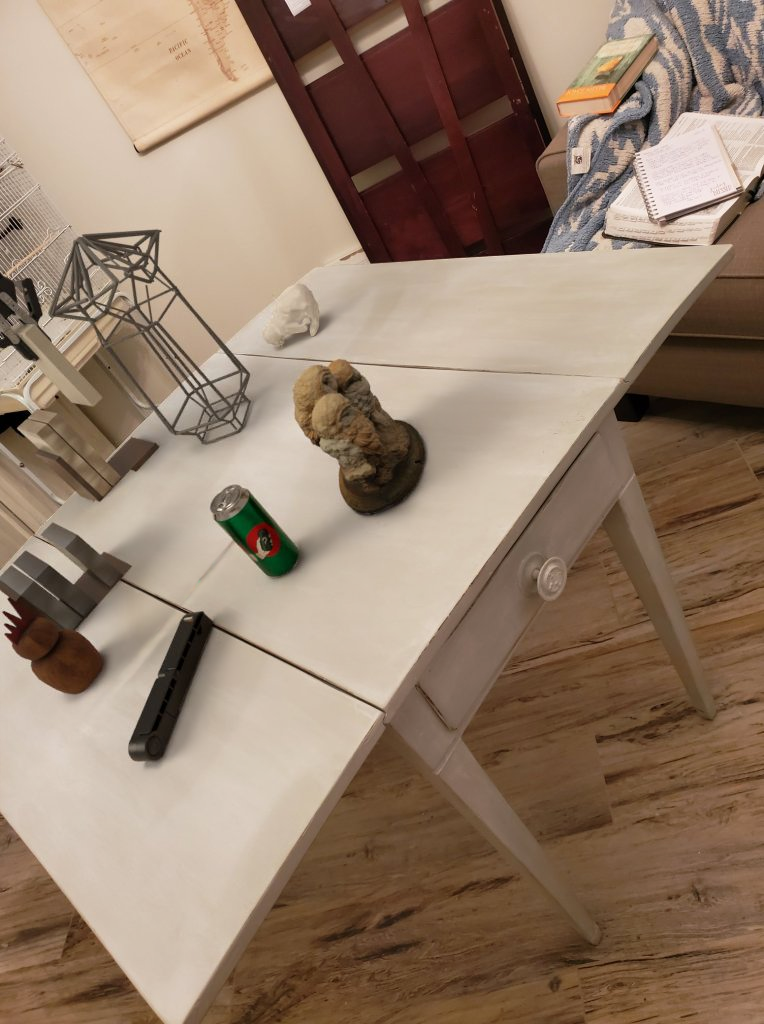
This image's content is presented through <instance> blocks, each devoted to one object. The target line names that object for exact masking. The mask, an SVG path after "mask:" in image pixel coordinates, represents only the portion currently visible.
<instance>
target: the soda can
mask: <svg viewBox="0 0 764 1024" xmlns="http://www.w3.org/2000/svg"><path fill="white" fill-rule="evenodd" d="M209 510H210V512H211V513H212V518H213V521H215V523H216V524H217V525H218V526H219V527H221V529H222V530H223V531H224V532H225V534H227V536H229V537H230V538H231V539H232V541H233V542H234V543H236V545H237V546H238V547H239V548H240V549H241V550H242V551H243V552H244V554H246V556H248V557H249V559H250V560H251V561H252V562H253V563H254V564H255V565H256V566H257V567H258V569H260V570H261V571H262V572H263V573H264V575H265V576H267V577H270V578H278V577H283V576H285V575H287V574H288V573H289V572H291V570H293V569H294V568H295V566H296V565H297V563H298V561H297V560H299V557H300V549H299V547H298V546H297V545H296V543H294V541H293V540H292V539H291V538H290V536H289V535H288V534H287V533H286V531H284V530H283V528H282V527H281V526H280V525H279V523H277V521H276V519H274V518H273V517H272V515H270V513H269V512H268V511H267V510H266V508H265V507H264V506H263V505H262V504H261V503H260V502H259V500H258V499H257V498H256V497H255V496H254V495H253V493H252V492H251V491H250V490H249V489H248V488H246V487H242V486H241V485H240V484H231V485H228V486H225V488H222V489H221V490H220V491H219V492H217V493H216V495H215V496H214V497H213V498H212V500H211V502H210V505H209ZM296 562H297V563H296ZM295 564H296V565H295ZM294 565H295V566H294ZM287 572H288V573H287ZM284 574H285V575H284ZM282 575H283V576H282Z"/></svg>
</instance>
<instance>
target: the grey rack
mask: <svg viewBox="0 0 764 1024" xmlns="http://www.w3.org/2000/svg"><path fill="white" fill-rule="evenodd" d="M40 536H41V537H42V538H43V539H44V540H45V541H46V542H48V543H49V544H50V545H51V546H53V547H54V548H55V549H56V550H57V551H59V552H60V553H61V554H62V555H63V556H64V557H66V558H67V559H68V560H70V561H71V562H72V563H73V564H74V565H75V566H76V567H78V568H79V569H80V570H82V572H83V574H81V575H80V577H78V579H77V580H76V581H75V582H74V583H73V582H71V581H70V580H68V578H66V577H65V576H64V575H63V574H62V573H60V572H59V571H58V570H57V569H56V568H54V567H53V566H51V565H50V564H49V563H47V562H45V560H43V559H41V558H39V557H37V556H36V555H34V554H33V553H31V552H30V551H28V550H26V549H25V550H24V551H23V552H22V553H21V554H20V555H19V556H18V557H17V558H16V559H15V560H14V561H13V562H12V565H10V566H8V568H7V569H5V571H4V572H3V573H2V574H1V575H0V592H2V593H3V594H4V595H5V596H6V597H7V598H11V599H13V600H14V601H15V602H17V603H18V604H19V605H21V606H22V607H23V608H25V609H26V610H27V611H29V612H30V613H31V614H33V615H34V616H35V617H36V618H38V617H42V618H45V619H48V620H49V621H51V622H52V623H53V624H54V625H55V626H56V628H57V630H58V631H59V630H66V629H69V630H75V631H77V629H78V628H79V627H80V626H81V625H82V624H83V623H84V621H85V620H86V619H87V618H89V616H90V615H91V613H93V612H94V610H95V609H96V608H97V606H98V605H100V603H101V602H102V601H103V600H104V599H105V598H106V597H107V595H108V594H110V592H112V590H113V589H114V587H116V585H117V584H119V582H120V581H121V580H122V578H123V577H125V575H126V574H127V573H128V572H129V571H130V570H131V568H132V567H133V565H132V564H129V563H128V562H125V561H123V560H122V559H120V558H117V557H116V556H114V555H112V554H109V553H108V552H106V551H103V552H102V553H101V554H100V553H99V552H98V551H97V550H96V549H95V548H93V546H91V545H90V544H89V543H88V542H86V541H85V540H84V538H83V537H81V536H80V535H79V534H77V533H75V532H73V531H71V530H69V529H67V528H65V527H64V526H61V525H59V524H58V523H55V522H51V523H50V524H49V525H48V526H47V527H46V528H45V529H44V530H43V531H42V532H41V533H40ZM14 566H15V567H14ZM17 568H18V569H17Z"/></svg>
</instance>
